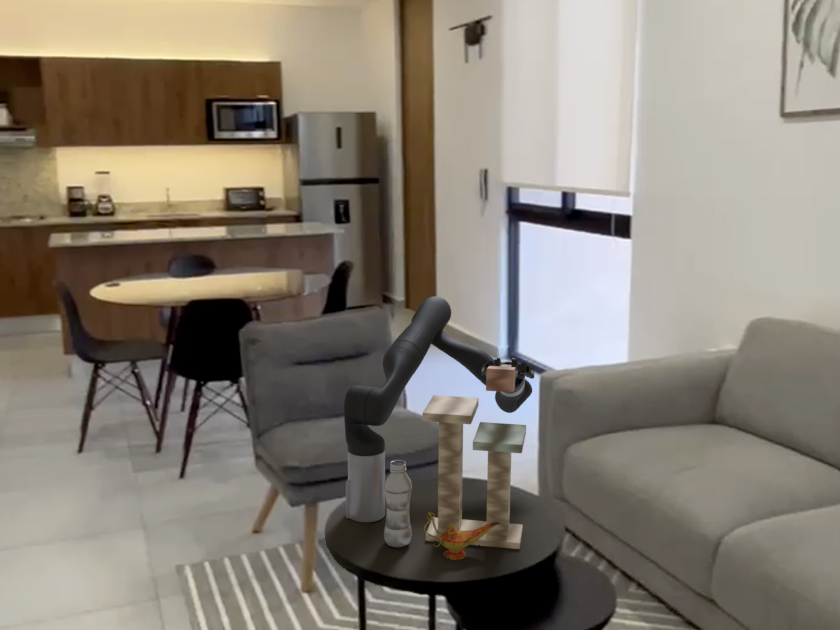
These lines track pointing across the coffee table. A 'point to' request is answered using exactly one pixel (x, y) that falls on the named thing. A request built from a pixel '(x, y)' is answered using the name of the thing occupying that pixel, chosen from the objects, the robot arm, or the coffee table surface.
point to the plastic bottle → (397, 505)
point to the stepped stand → (487, 438)
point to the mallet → (500, 378)
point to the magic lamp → (458, 538)
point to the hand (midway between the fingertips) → (505, 361)
